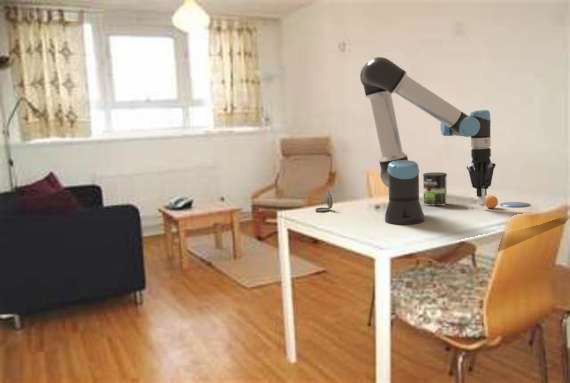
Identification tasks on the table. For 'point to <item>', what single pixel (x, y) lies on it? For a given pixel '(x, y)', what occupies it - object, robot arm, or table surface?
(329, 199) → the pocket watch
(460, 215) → the table surface
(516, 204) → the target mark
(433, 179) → the coffee can
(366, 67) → the robot arm
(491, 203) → the ball
